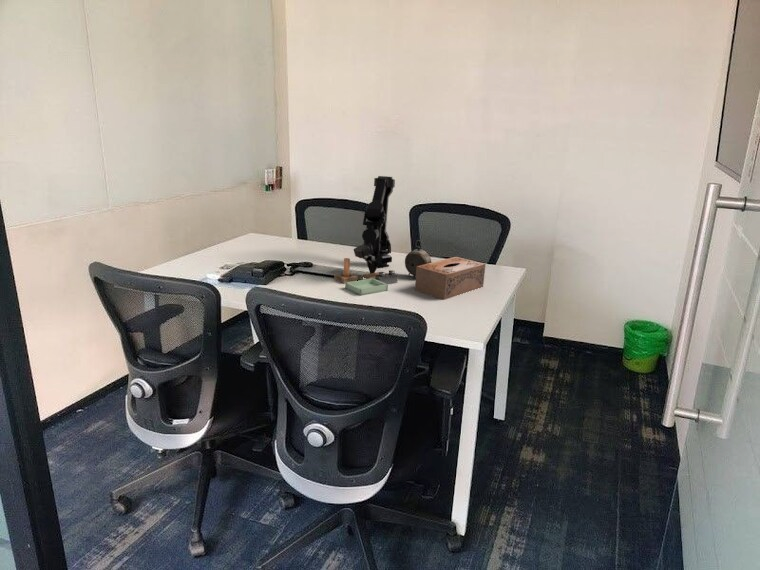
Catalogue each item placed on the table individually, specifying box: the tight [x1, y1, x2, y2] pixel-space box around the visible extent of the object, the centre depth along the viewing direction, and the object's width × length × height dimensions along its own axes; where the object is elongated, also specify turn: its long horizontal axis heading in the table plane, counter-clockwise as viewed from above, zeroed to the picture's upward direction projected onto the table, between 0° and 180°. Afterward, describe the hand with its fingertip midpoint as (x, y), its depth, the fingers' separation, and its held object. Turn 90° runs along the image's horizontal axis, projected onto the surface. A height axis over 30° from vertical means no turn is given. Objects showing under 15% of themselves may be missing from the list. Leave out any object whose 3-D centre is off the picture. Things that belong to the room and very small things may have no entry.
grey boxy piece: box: [375, 270, 399, 285], centre depth 228 cm, size 9×3×5 cm, turn 127°
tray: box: [345, 278, 389, 297], centre depth 219 cm, size 13×10×2 cm
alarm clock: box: [404, 239, 432, 279], centre depth 236 cm, size 11×5×16 cm, turn 55°
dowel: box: [343, 257, 351, 277], centre depth 229 cm, size 2×2×9 cm
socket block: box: [333, 272, 359, 285], centre depth 230 cm, size 7×7×2 cm
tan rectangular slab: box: [361, 271, 387, 279], centre depth 232 cm, size 10×7×2 cm
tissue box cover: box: [414, 256, 486, 301], centre depth 224 cm, size 26×14×10 cm, turn 136°
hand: (371, 274), depth 236 cm, fingers closed
